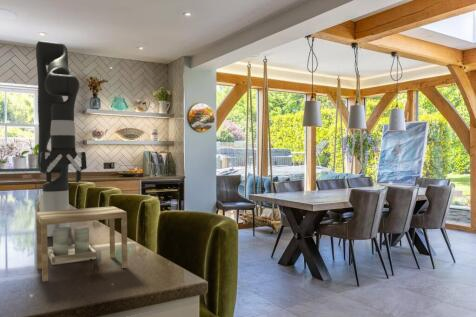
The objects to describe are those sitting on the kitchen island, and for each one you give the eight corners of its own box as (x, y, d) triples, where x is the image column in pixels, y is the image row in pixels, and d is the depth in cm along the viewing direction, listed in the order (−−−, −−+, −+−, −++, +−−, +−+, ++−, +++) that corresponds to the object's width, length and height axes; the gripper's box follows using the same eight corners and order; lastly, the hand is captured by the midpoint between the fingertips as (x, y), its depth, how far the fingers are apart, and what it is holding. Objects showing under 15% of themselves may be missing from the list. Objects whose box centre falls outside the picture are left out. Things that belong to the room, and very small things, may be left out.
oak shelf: (36, 268, 110) (36, 212, 110) (113, 257, 122) (113, 206, 121) (42, 281, 99) (41, 219, 98) (127, 268, 110) (126, 211, 109)
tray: (45, 250, 133) (44, 223, 133) (83, 245, 139) (83, 219, 139) (52, 266, 114) (51, 234, 114) (96, 260, 120) (95, 230, 120)
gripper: (40, 133, 127) (41, 184, 127) (87, 134, 135) (88, 182, 135) (38, 134, 133) (39, 183, 134) (83, 135, 141) (84, 181, 141)
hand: (63, 182), depth 134 cm, fingers open, 8 cm apart
